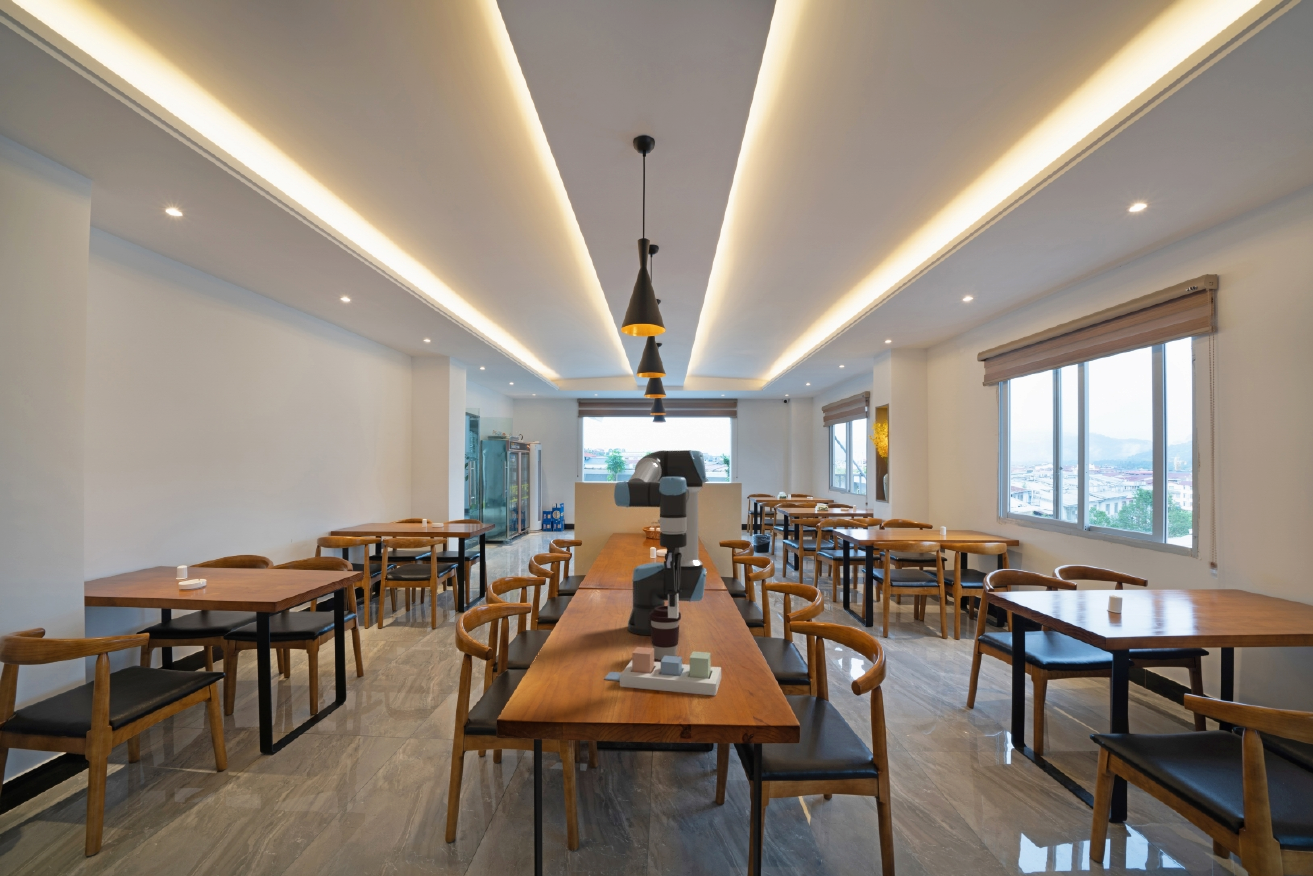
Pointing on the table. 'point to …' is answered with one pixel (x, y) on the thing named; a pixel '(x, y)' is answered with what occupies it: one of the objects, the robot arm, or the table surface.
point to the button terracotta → (643, 660)
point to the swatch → (613, 676)
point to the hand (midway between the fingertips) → (673, 617)
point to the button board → (671, 680)
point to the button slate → (671, 665)
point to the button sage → (700, 665)
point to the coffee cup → (664, 632)
